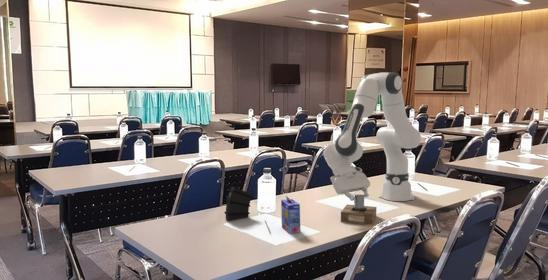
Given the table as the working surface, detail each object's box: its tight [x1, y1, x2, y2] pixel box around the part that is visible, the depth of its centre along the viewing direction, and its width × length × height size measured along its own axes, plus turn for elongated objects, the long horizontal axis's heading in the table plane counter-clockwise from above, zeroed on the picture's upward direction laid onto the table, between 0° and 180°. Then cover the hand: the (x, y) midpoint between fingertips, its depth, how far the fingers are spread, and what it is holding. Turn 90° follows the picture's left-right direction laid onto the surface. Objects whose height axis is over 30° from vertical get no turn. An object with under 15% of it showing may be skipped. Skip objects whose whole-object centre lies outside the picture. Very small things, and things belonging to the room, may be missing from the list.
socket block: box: [340, 204, 377, 226], centre depth 208 cm, size 14×14×4 cm
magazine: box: [224, 186, 254, 222], centre depth 211 cm, size 4×13×15 cm, turn 122°
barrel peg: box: [353, 194, 365, 212], centre depth 208 cm, size 4×4×11 cm
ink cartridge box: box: [280, 196, 301, 234], centre depth 193 cm, size 10×6×14 cm, turn 18°
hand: (360, 198), depth 207 cm, fingers open, 8 cm apart
